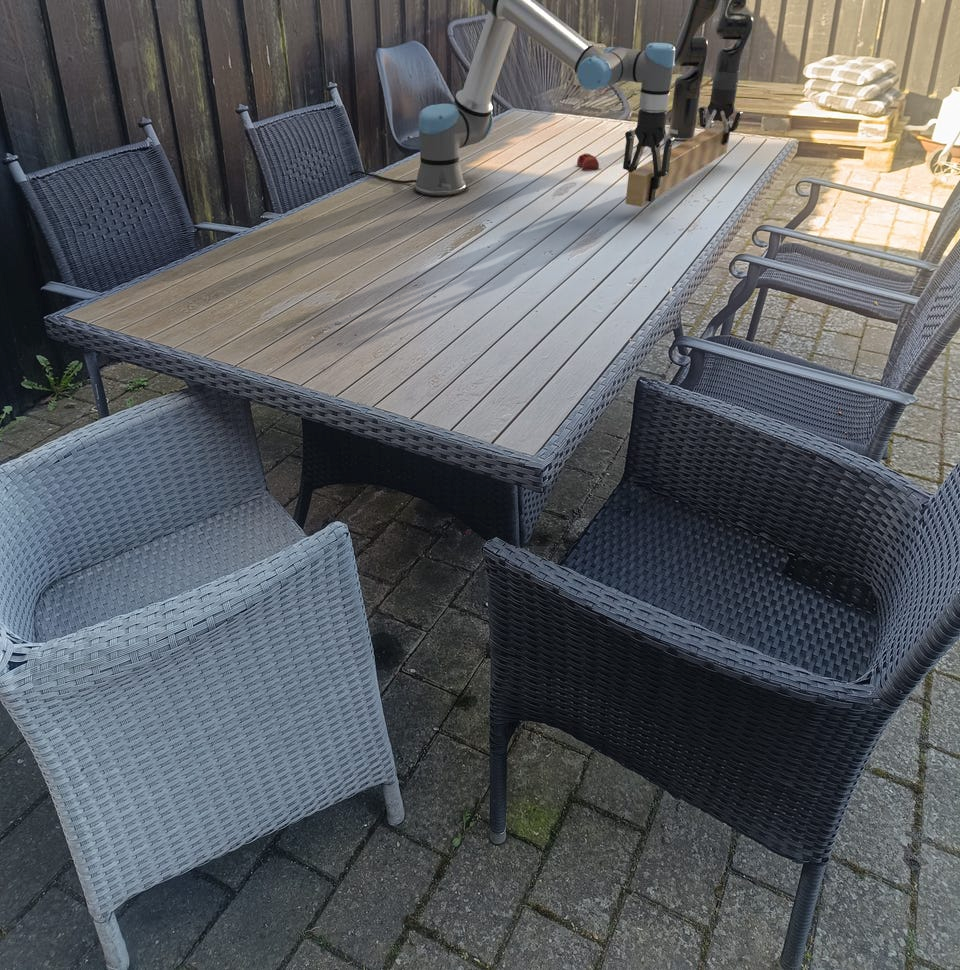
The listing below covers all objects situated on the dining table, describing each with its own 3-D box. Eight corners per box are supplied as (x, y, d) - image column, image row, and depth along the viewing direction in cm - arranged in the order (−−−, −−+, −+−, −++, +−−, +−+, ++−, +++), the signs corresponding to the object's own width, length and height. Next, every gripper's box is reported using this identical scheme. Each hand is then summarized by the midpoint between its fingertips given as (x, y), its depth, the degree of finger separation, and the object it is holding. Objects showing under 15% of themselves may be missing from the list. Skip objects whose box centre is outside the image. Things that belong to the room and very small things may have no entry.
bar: (641, 207, 231) (645, 176, 226) (625, 203, 233) (628, 173, 228) (726, 152, 277) (731, 125, 272) (712, 150, 279) (716, 123, 274)
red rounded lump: (591, 150, 280) (600, 156, 273) (591, 163, 282) (599, 169, 276) (576, 151, 279) (584, 158, 272) (575, 164, 281) (583, 171, 275)
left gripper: (691, 111, 220) (677, 201, 234) (627, 102, 228) (618, 189, 242) (680, 117, 215) (666, 208, 229) (615, 107, 223) (606, 195, 237)
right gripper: (751, 86, 262) (740, 143, 272) (707, 81, 268) (698, 137, 278) (743, 91, 257) (733, 149, 267) (698, 85, 263) (690, 142, 273)
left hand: (641, 198), depth 235 cm, fingers closed on bar, 5 cm apart
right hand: (715, 142), depth 272 cm, fingers closed on bar, 5 cm apart
